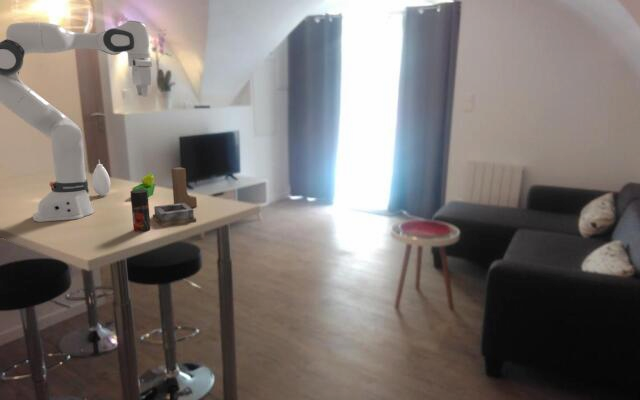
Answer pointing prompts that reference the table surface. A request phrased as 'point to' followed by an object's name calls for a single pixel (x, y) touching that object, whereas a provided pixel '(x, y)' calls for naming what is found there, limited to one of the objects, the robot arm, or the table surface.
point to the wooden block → (181, 188)
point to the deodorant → (140, 210)
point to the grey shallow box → (173, 214)
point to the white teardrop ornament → (101, 180)
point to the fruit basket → (147, 184)
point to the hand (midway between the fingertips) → (142, 96)
